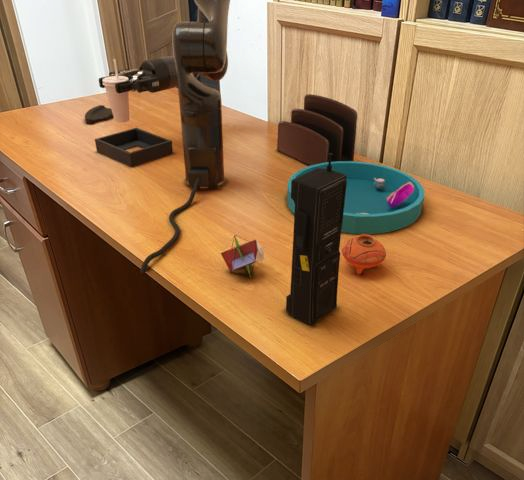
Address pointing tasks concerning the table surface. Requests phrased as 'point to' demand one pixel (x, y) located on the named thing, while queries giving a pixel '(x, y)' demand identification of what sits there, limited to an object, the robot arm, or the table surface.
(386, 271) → the table surface
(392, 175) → the round teal tray
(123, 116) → the smoothie
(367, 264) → the pot
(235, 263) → the geometric puzzle
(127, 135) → the dark grey rectangular frame
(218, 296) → the table surface
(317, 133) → the letter holder
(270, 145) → the table surface
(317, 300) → the portable radio
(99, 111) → the curved wedge
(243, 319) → the table surface
